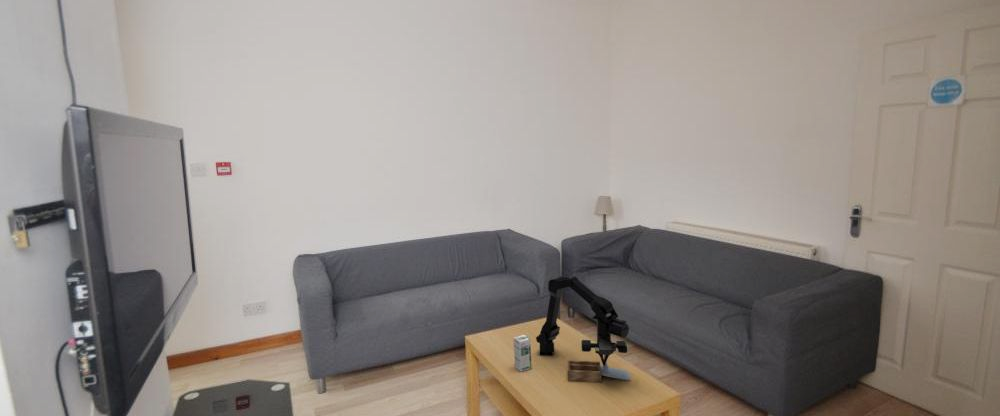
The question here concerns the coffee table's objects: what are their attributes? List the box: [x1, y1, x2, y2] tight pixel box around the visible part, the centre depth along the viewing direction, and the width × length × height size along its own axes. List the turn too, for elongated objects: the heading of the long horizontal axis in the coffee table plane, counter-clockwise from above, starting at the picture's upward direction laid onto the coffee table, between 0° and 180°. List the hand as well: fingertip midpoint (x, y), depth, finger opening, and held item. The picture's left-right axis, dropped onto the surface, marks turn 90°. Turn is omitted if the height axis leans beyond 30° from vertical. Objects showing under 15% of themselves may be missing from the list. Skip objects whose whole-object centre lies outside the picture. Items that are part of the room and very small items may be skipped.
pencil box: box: [567, 359, 602, 383], centre depth 193 cm, size 14×9×5 cm, turn 82°
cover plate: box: [600, 361, 631, 382], centre depth 192 cm, size 12×7×3 cm, turn 86°
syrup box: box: [512, 334, 533, 373], centre depth 201 cm, size 6×6×14 cm
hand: (603, 364), depth 192 cm, fingers closed
